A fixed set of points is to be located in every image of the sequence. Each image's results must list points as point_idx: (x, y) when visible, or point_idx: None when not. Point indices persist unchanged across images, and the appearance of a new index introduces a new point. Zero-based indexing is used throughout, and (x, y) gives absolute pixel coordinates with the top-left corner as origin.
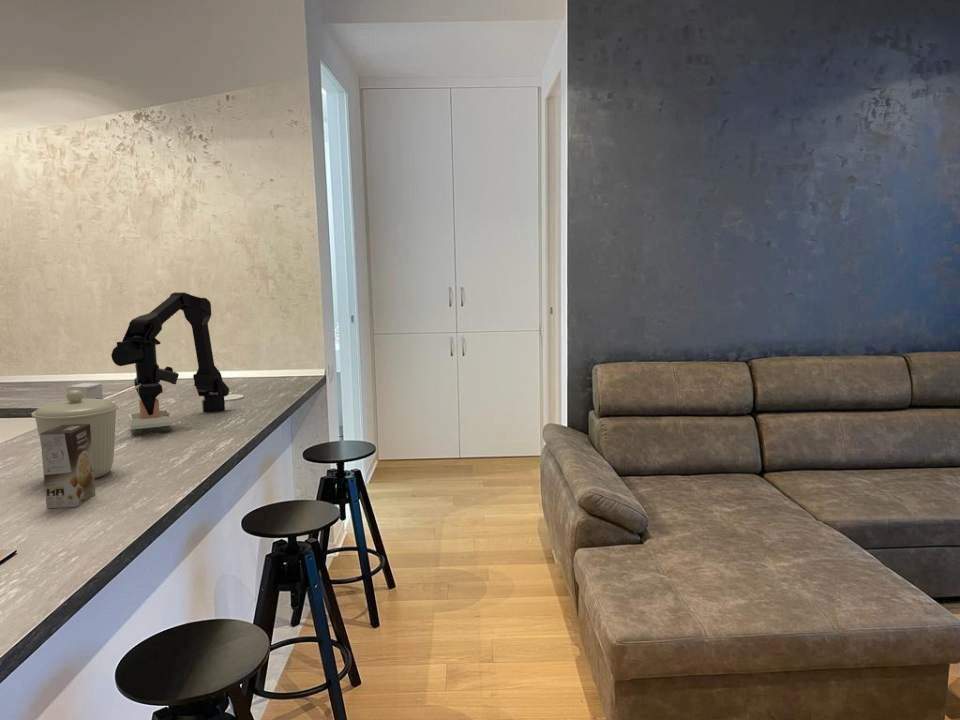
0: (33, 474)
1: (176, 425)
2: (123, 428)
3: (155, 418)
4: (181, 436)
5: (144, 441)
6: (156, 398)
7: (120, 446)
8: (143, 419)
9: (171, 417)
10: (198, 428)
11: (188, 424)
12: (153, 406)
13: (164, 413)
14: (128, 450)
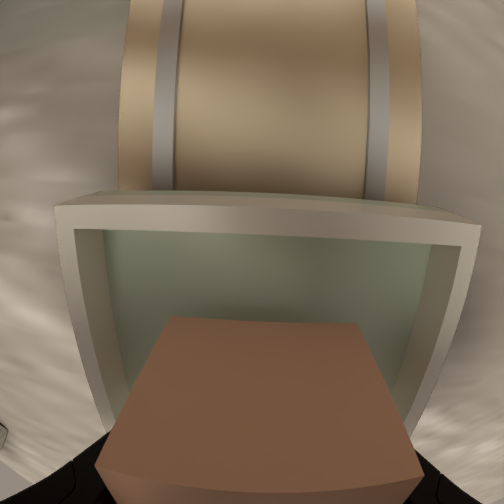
0: (483, 497)
1: (160, 131)
2: (46, 379)
3: (440, 367)
4: (431, 150)
5: None
6: (136, 483)
7: (417, 425)
8: (409, 435)
9: (474, 229)
10: (374, 16)
11: (177, 46)
12: (420, 460)
13: (90, 238)
14: (492, 394)
